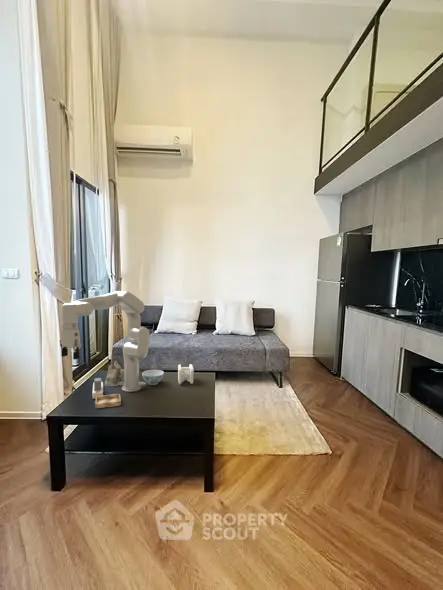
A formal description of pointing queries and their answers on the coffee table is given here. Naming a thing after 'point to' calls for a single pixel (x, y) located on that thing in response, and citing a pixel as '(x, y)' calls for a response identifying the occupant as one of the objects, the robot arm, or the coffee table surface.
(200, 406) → the coffee table surface
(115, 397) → the tray
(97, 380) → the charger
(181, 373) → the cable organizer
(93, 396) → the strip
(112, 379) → the ceramic cottage
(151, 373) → the chinaware
